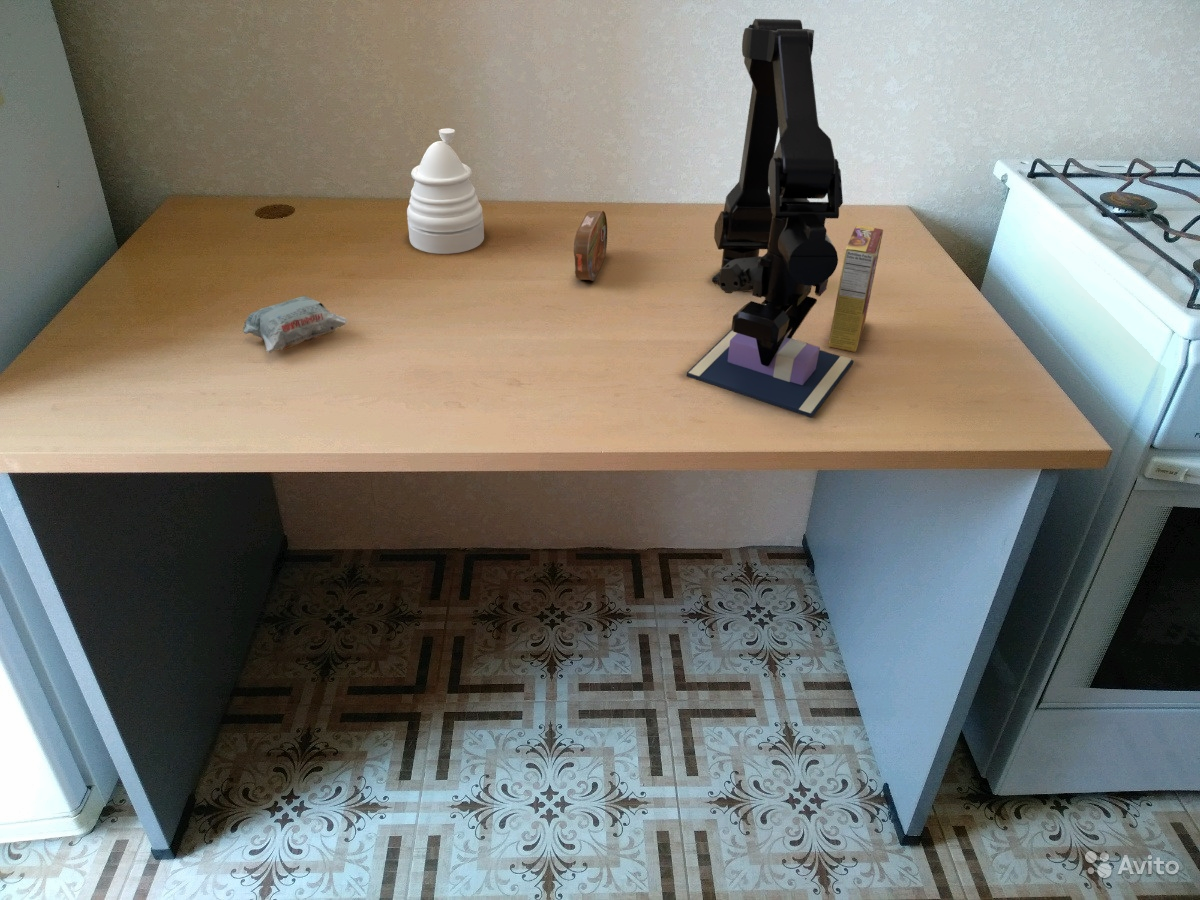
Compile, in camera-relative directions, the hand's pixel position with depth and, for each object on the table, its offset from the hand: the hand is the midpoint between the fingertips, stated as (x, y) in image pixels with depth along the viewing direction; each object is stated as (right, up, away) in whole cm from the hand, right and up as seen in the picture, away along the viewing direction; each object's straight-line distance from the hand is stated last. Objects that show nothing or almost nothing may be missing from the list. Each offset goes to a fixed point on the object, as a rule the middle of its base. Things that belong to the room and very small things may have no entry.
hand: (772, 356), depth 121 cm
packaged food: (-66, +3, +5) cm, 67 cm away
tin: (-25, +17, +26) cm, 40 cm away
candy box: (+12, +4, +10) cm, 16 cm away
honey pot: (-50, +24, +34) cm, 65 cm away
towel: (0, -2, +1) cm, 2 cm away
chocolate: (0, -1, +1) cm, 2 cm away
